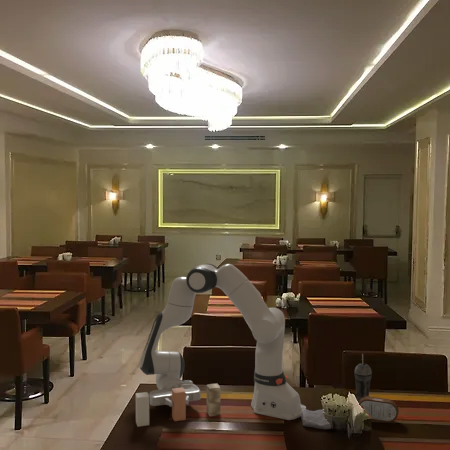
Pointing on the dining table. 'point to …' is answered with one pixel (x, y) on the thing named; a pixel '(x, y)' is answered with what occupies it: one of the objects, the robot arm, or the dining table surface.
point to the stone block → (315, 419)
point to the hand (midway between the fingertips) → (179, 403)
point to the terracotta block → (179, 404)
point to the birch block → (213, 399)
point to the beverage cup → (362, 379)
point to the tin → (380, 408)
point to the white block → (142, 409)
